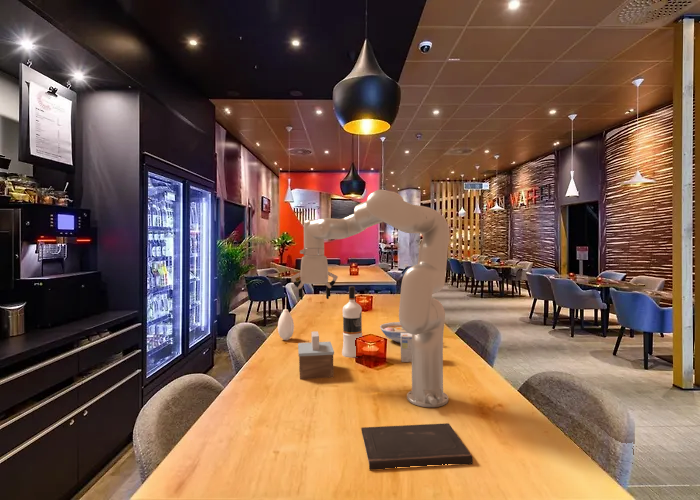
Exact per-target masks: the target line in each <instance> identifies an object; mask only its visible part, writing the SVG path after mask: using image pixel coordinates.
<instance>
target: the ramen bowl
mask: <svg viewBox="0 0 700 500" xmlns="http://www.w3.org/2000/svg"><path fill="white" fill-rule="evenodd" d="M379 328H380V330H381V332H382V333H383V334H384V336H385V337H386V338H388V339H390V340H392V341H393V342H396V343H399V344H401V333H408V332H406V331H405V330H404V329H403V328H402V326H401V324H400V321H394V322H387V323H385V322H384V323H383V324H380V326H379Z"/></svg>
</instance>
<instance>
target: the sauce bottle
mask: <svg viewBox="0 0 700 500" xmlns="http://www.w3.org/2000/svg"><path fill="white" fill-rule="evenodd" d="M294 330H295V325H294V319H293V317H292V315H291V313H290V311H289V309H287V305H286V304H285V305H284V309H283V310H282V312H281V314H280V316H279V318H278V322H277V332H278V335H279V337H280V338H281V339H282V340H284V341H289V340H290V339H291V338H292V337H293V334H294Z"/></svg>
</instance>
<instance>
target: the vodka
mask: <svg viewBox="0 0 700 500" xmlns="http://www.w3.org/2000/svg"><path fill="white" fill-rule="evenodd" d="M362 310H363V309H362V306H361V305H360V304H359V303H358V302H356V287H355V286H348V302H347V303H345V304H344V306H342V319H343V320H342V321H343V322H342V325H343V326H342V328H343V329H342V330H343V331H342V335H343V336H342V338H343V339H342V341H343V343H342V350H341V355H342V356H343V357H345V358H357V357H356V346H355V340H356V338H359V337H362V338H363V332H362V331H363V328H362V327H363V325H362V321H363V320H362V317H363V316H362V314H363V313H362Z"/></svg>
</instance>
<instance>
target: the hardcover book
mask: <svg viewBox="0 0 700 500" xmlns="http://www.w3.org/2000/svg"><path fill="white" fill-rule="evenodd" d="M360 429H361V436H362V440H364V441H363V444H364V445H363V446H364V449H365V453H367V454H366V458H367V461H368V468H369V469H383V470H386V469H385V468H395V467H396V468H397V467H410V466H427V465H442V464H443V465H445V464H447V465H448V464H468V465H473V464H474V463H473V462H474V460H473V456H472V454H471V452H470V451H469V450H468V448H467V447H466V445H465V444H464V442H463V441H462V440H461V438H460V437H459V435H458V434H457V433H456V432H455V431H456V430H454V428H453V427H452V426H451V424H450V423H449V422H447V423H444V422H443V423H431V424H430V423H429V424H428V423H427V424H407V425H406V424H405V425H389V426H388V425H386V426H384V425H383V426H365V427H360ZM369 469H368V470H369Z"/></svg>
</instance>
